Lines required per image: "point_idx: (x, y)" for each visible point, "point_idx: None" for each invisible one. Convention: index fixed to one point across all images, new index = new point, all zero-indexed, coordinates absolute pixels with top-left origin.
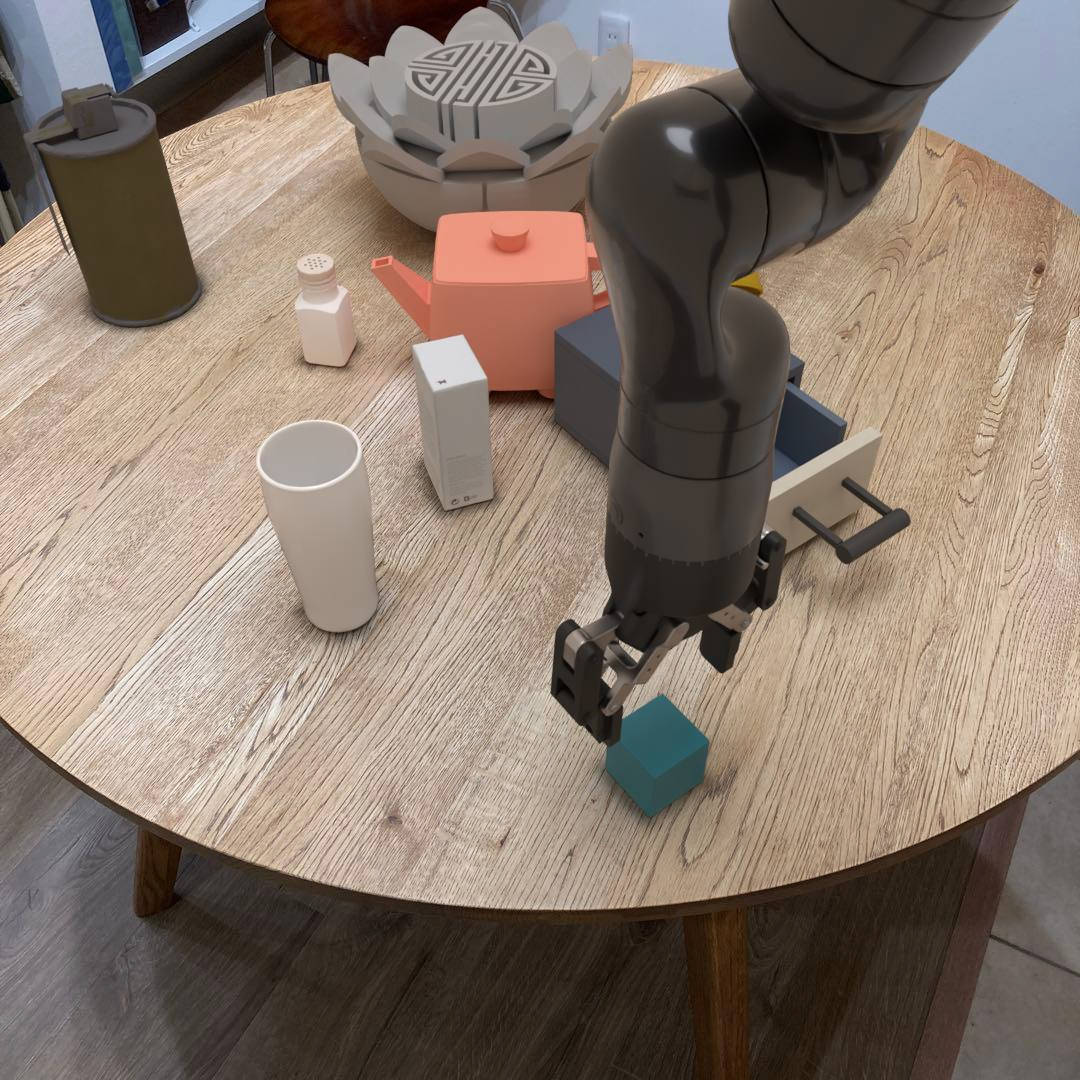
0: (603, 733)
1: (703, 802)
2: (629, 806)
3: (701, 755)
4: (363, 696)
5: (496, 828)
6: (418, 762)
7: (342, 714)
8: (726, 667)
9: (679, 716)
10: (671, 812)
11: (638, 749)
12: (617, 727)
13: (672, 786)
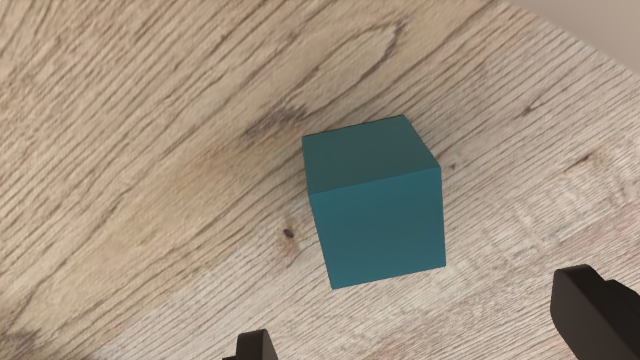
0: (630, 306)
1: (318, 106)
2: None
3: (322, 175)
4: None
5: (577, 177)
6: None
7: None
8: (258, 346)
9: (331, 249)
10: (370, 110)
11: (428, 221)
12: (619, 316)
13: (376, 144)
